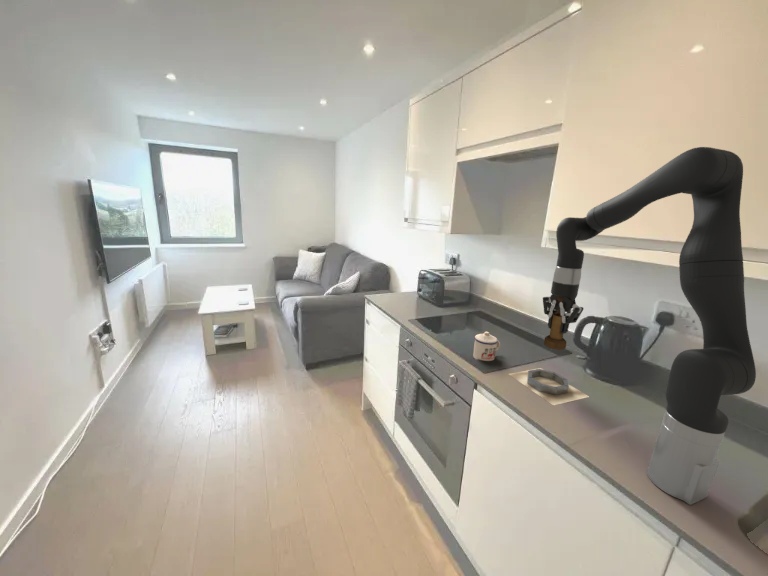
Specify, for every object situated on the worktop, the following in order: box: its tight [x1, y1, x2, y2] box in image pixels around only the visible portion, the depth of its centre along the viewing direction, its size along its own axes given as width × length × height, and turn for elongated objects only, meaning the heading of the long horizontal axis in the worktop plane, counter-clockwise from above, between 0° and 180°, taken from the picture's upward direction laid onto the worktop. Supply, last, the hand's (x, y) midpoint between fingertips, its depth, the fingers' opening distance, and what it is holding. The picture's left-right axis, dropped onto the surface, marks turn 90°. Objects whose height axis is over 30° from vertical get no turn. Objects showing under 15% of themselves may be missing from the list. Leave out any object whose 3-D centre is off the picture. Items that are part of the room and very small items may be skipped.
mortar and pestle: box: [543, 296, 567, 351], centre depth 102 cm, size 7×6×18 cm
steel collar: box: [527, 368, 569, 396], centre depth 108 cm, size 12×12×2 cm
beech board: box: [508, 367, 590, 406], centre depth 108 cm, size 20×16×1 cm
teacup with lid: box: [472, 331, 501, 362], centre depth 127 cm, size 12×9×12 cm
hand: (556, 330), depth 103 cm, fingers closed on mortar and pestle, 4 cm apart
